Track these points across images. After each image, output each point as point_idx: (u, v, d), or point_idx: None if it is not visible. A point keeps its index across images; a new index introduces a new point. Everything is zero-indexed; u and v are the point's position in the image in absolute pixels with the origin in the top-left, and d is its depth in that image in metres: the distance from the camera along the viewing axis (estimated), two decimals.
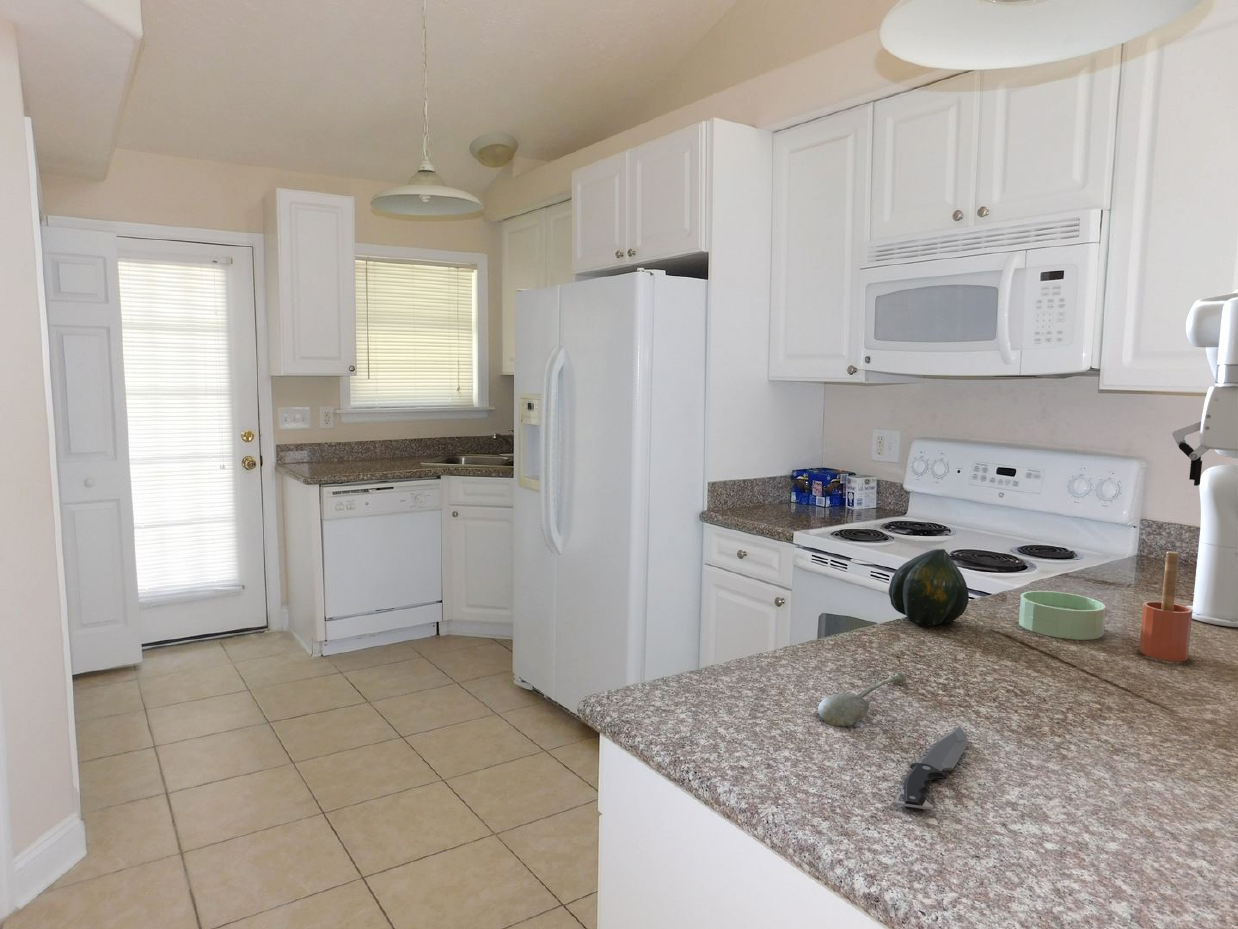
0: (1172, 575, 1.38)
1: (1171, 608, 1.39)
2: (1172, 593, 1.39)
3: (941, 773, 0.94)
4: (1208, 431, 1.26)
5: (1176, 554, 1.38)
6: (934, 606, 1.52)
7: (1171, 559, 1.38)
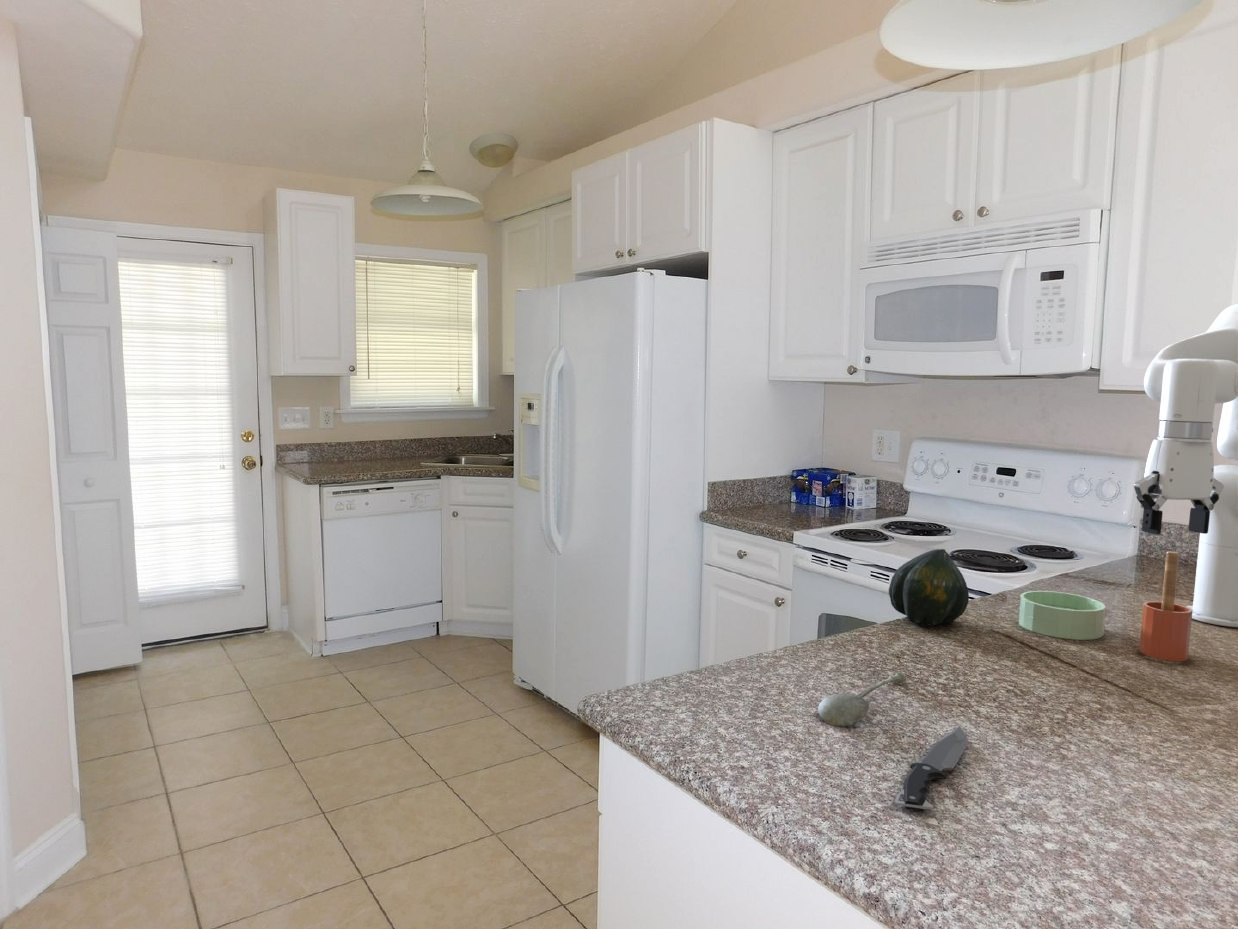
0: (1172, 575, 1.38)
1: (1171, 608, 1.39)
2: (1172, 593, 1.39)
3: (941, 773, 0.94)
4: (1171, 483, 1.34)
5: (1176, 554, 1.38)
6: (934, 606, 1.52)
7: (1171, 559, 1.38)
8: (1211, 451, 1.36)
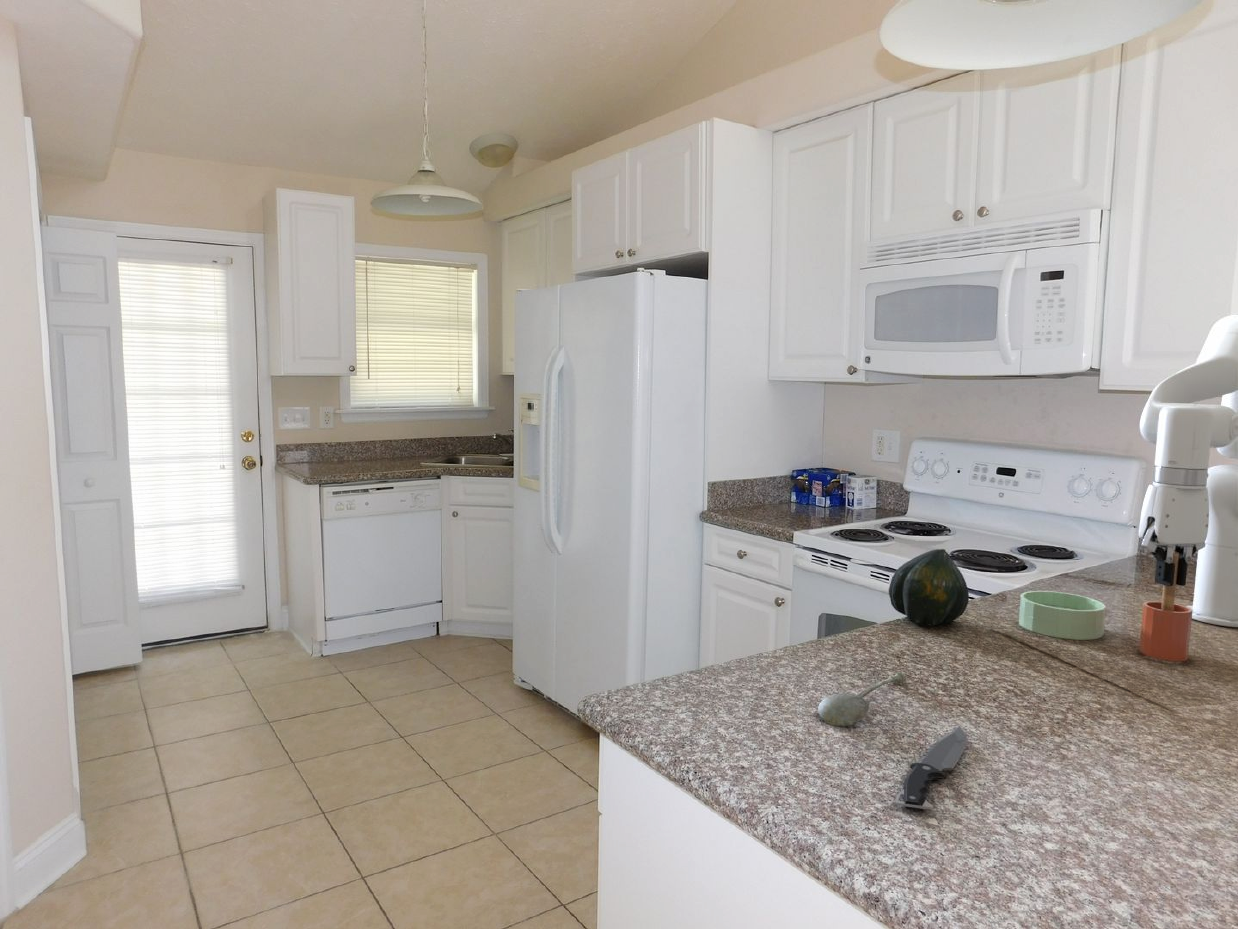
0: None
1: (1171, 608, 1.39)
2: (1172, 593, 1.39)
3: (941, 773, 0.94)
4: (1167, 529, 1.35)
5: (1176, 554, 1.38)
6: (934, 606, 1.52)
7: None
8: (1206, 497, 1.36)
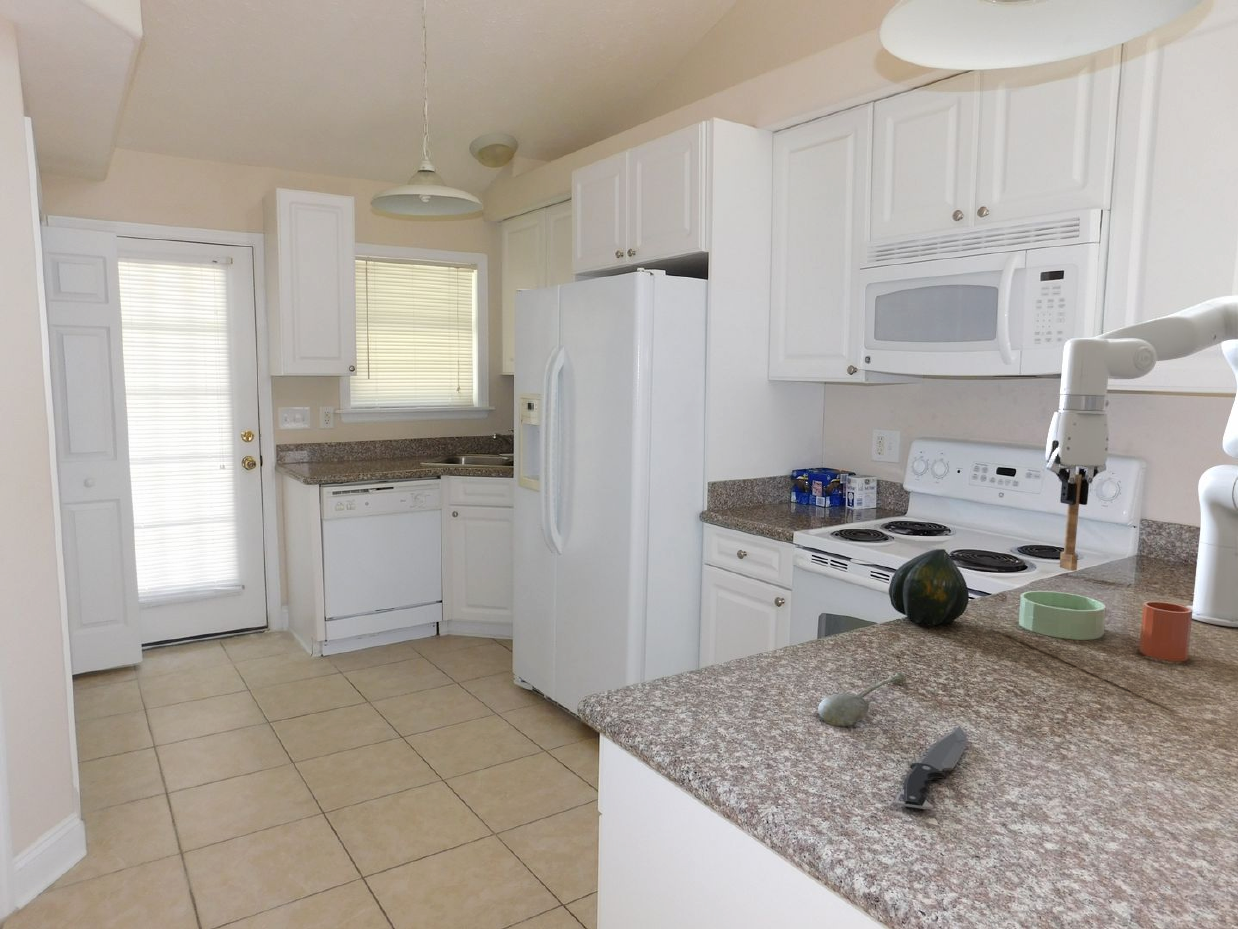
0: None
1: (1074, 525, 1.51)
2: (1075, 511, 1.51)
3: (941, 773, 0.94)
4: (1068, 451, 1.48)
5: (1079, 475, 1.50)
6: (934, 606, 1.52)
7: None
8: (1105, 422, 1.49)
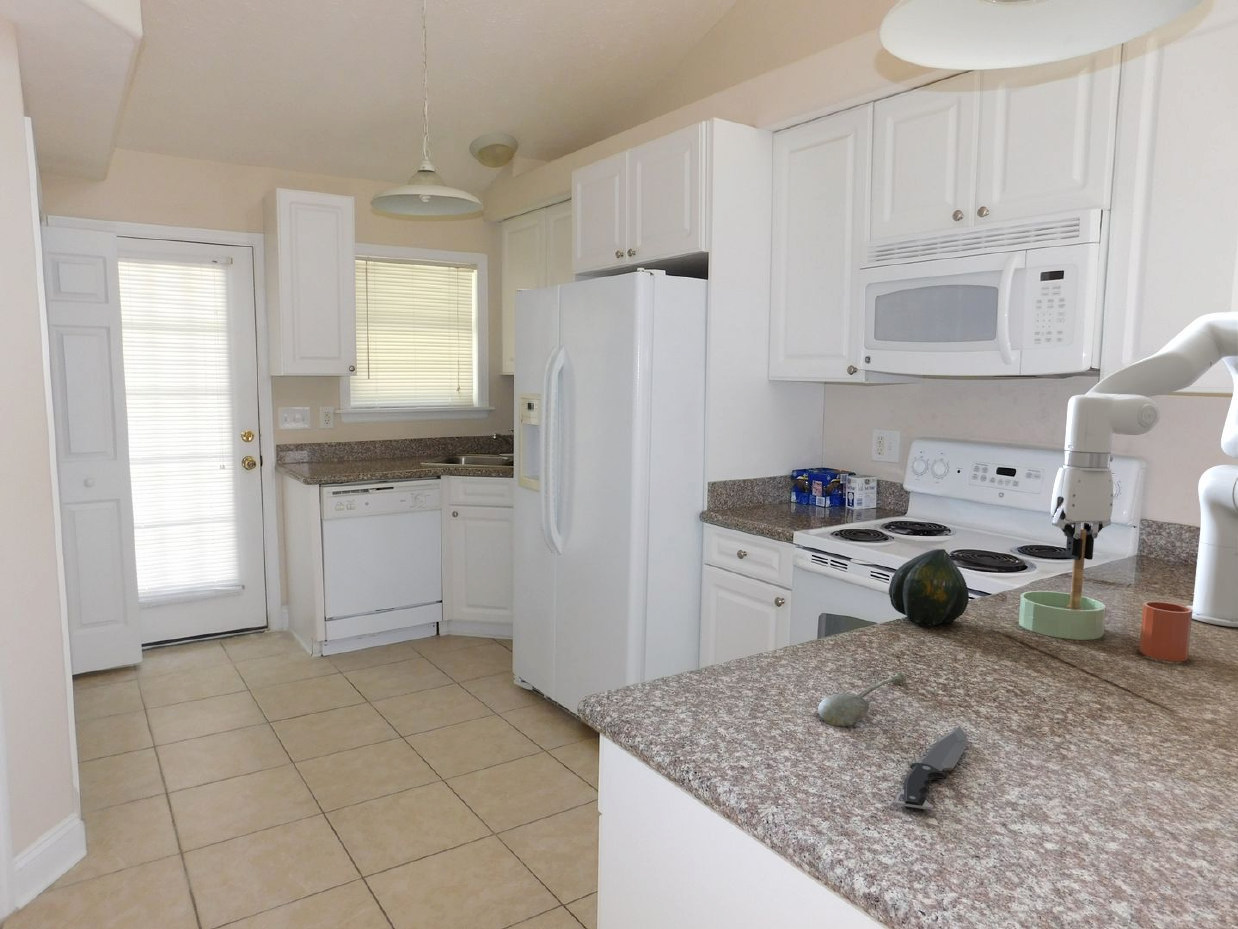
0: None
1: (1080, 580, 1.52)
2: (1081, 566, 1.52)
3: (941, 773, 0.94)
4: (1073, 508, 1.49)
5: (1084, 531, 1.51)
6: (934, 606, 1.52)
7: None
8: (1110, 478, 1.50)
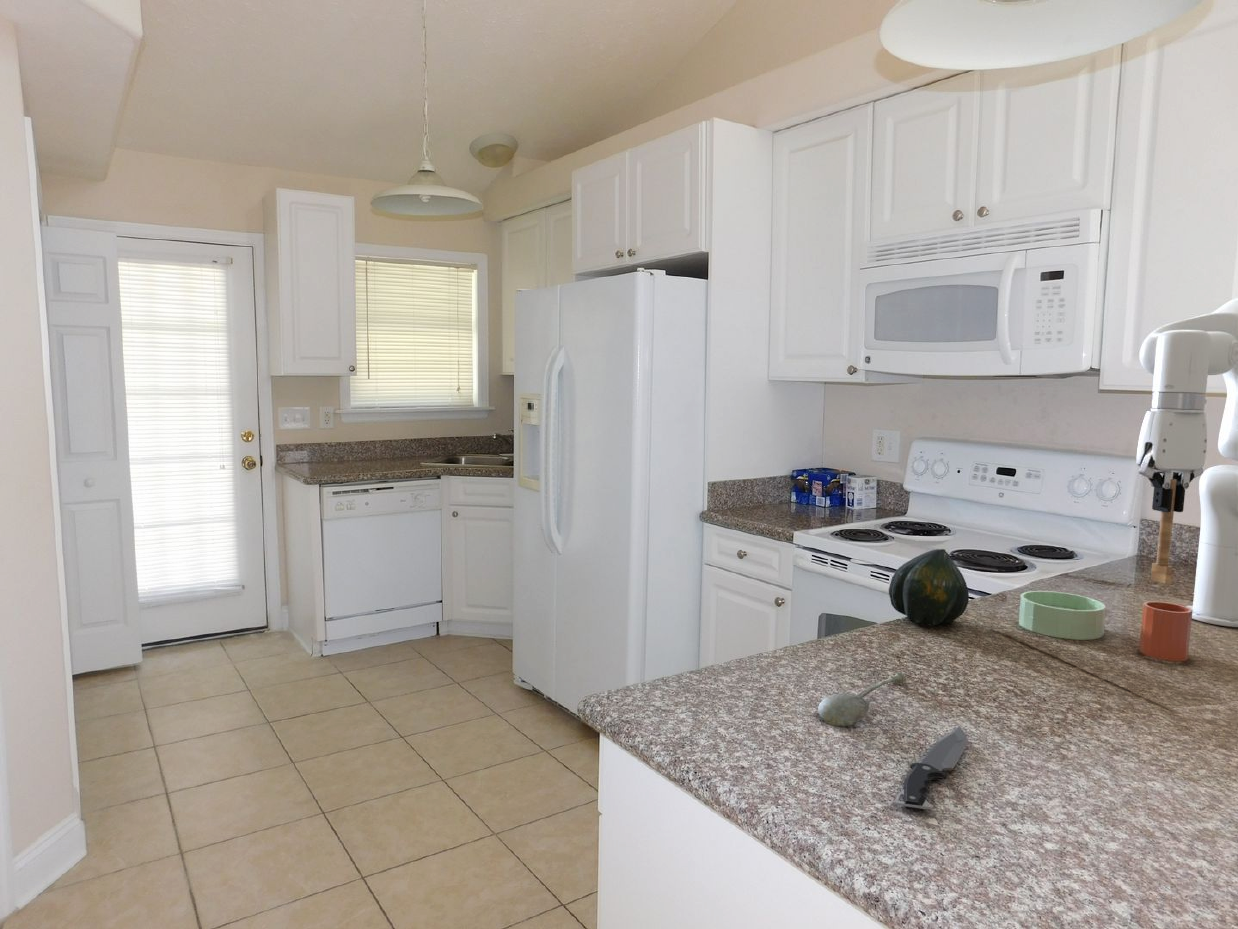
0: None
1: (1169, 535, 1.39)
2: (1170, 519, 1.38)
3: (941, 773, 0.94)
4: (1164, 454, 1.35)
5: (1174, 480, 1.38)
6: (934, 606, 1.52)
7: None
8: (1204, 422, 1.36)
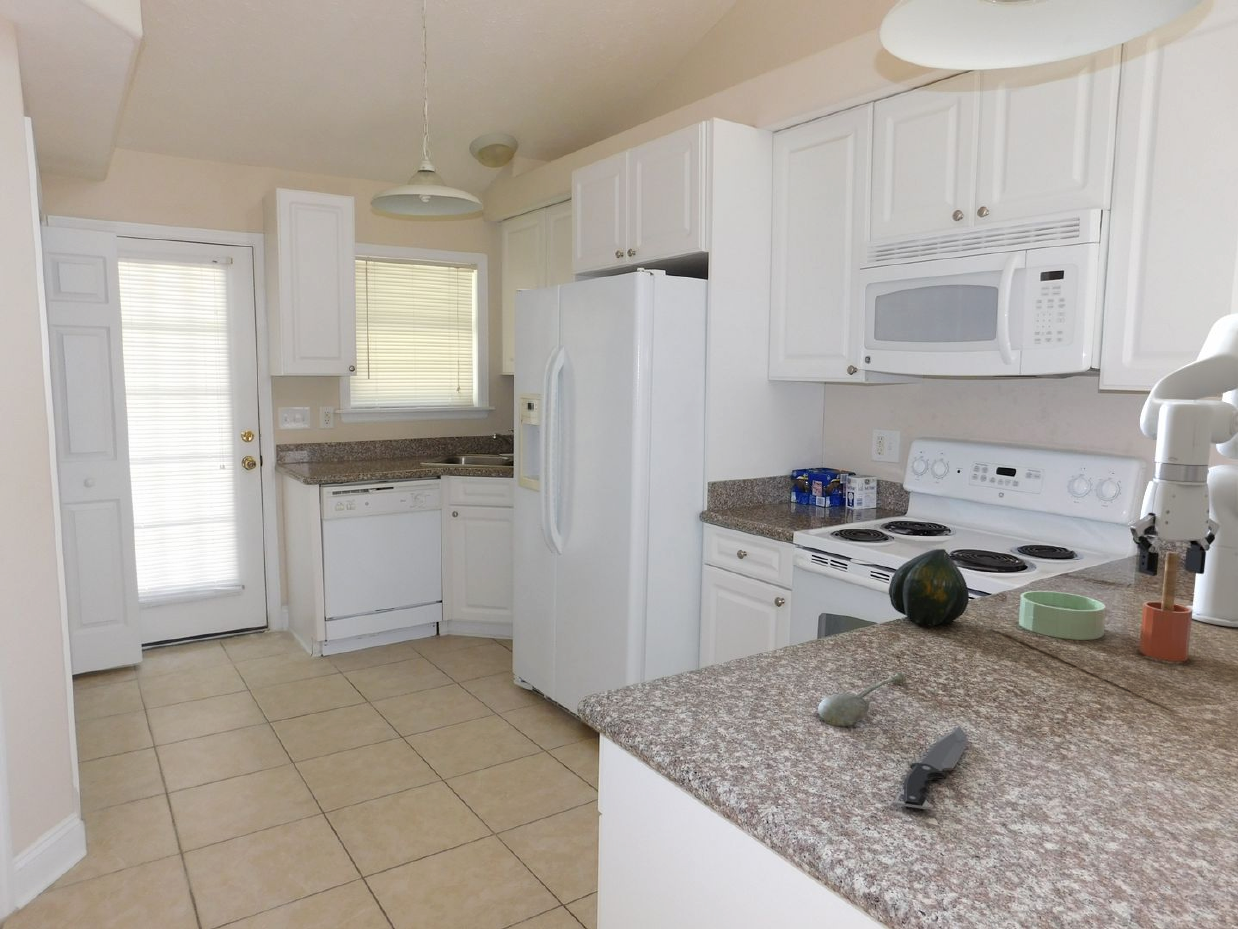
0: (1172, 575, 1.38)
1: (1171, 608, 1.39)
2: (1172, 593, 1.39)
3: (941, 773, 0.94)
4: (1167, 525, 1.35)
5: (1176, 554, 1.38)
6: (934, 606, 1.52)
7: (1171, 559, 1.38)
8: (1207, 493, 1.36)
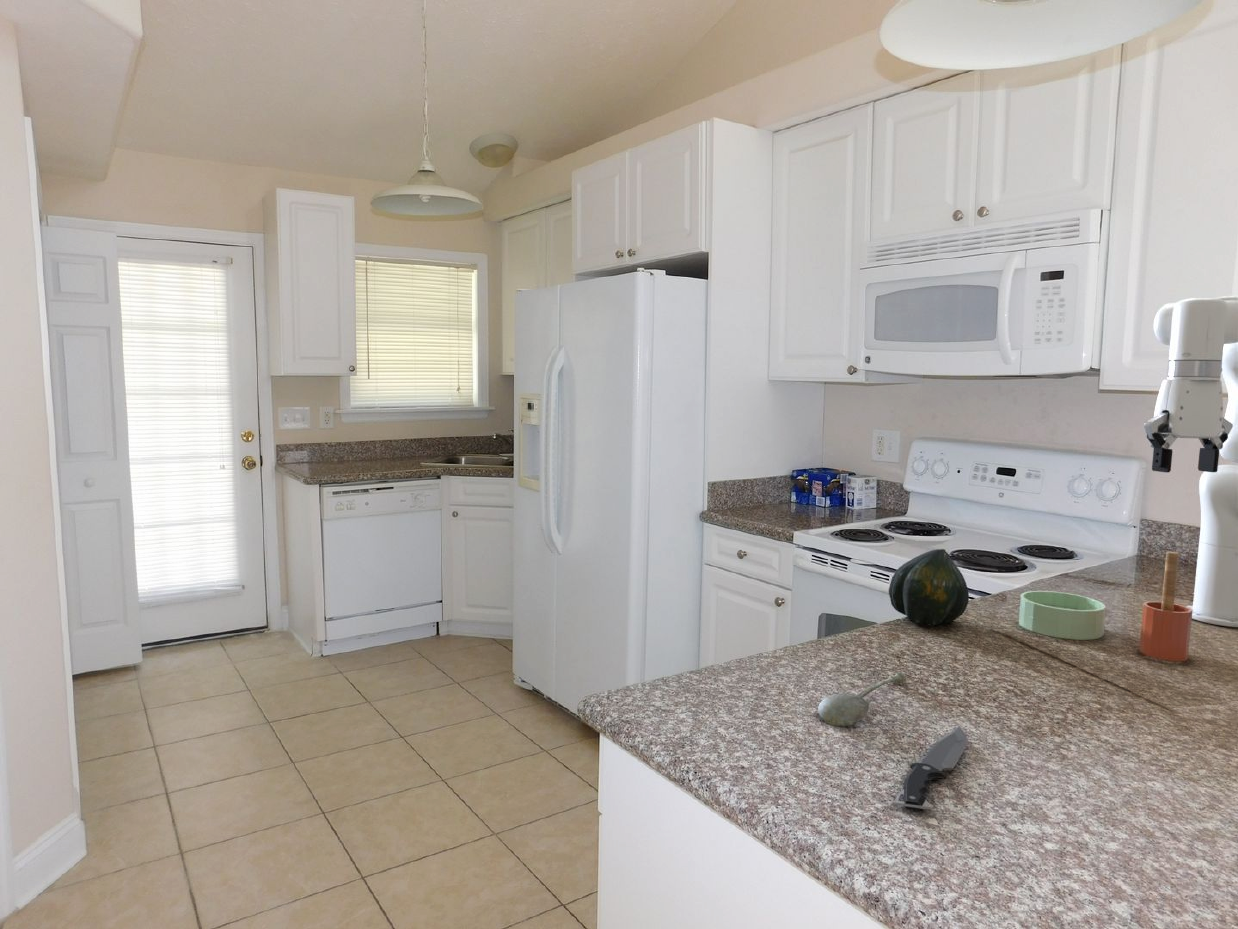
0: (1172, 575, 1.38)
1: (1171, 608, 1.39)
2: (1172, 593, 1.39)
3: (941, 773, 0.94)
4: (1181, 421, 1.36)
5: (1176, 554, 1.38)
6: (934, 606, 1.52)
7: (1171, 559, 1.38)
8: (1220, 390, 1.37)
